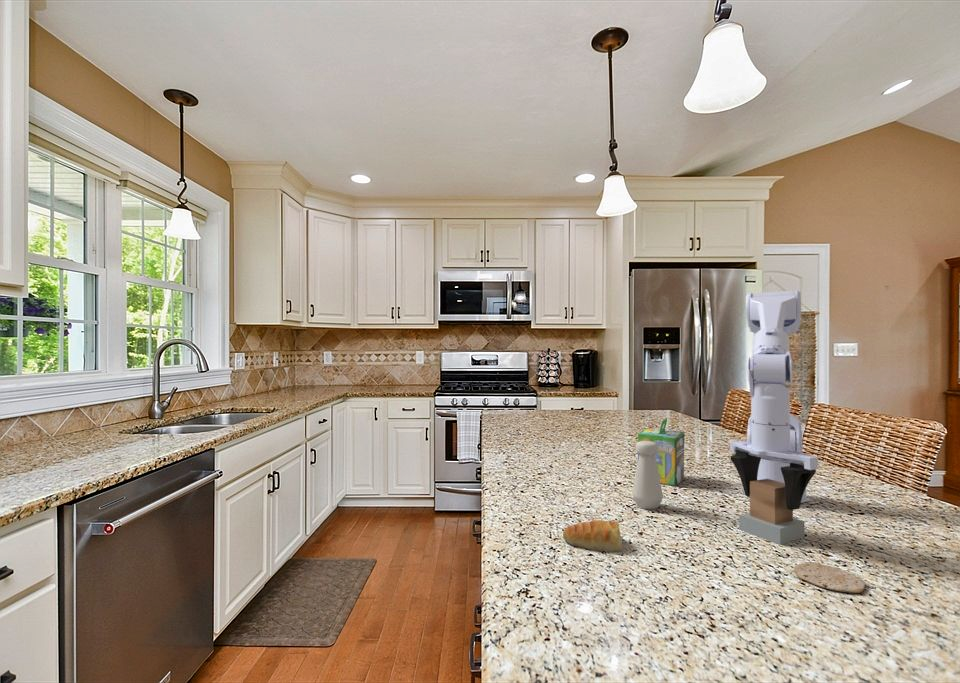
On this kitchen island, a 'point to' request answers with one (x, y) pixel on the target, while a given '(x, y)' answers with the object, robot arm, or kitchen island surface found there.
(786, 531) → the base slab
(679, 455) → the chalk box
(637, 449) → the salt shaker
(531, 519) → the kitchen island surface
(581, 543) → the pastry
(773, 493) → the walnut block
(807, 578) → the flatbread
